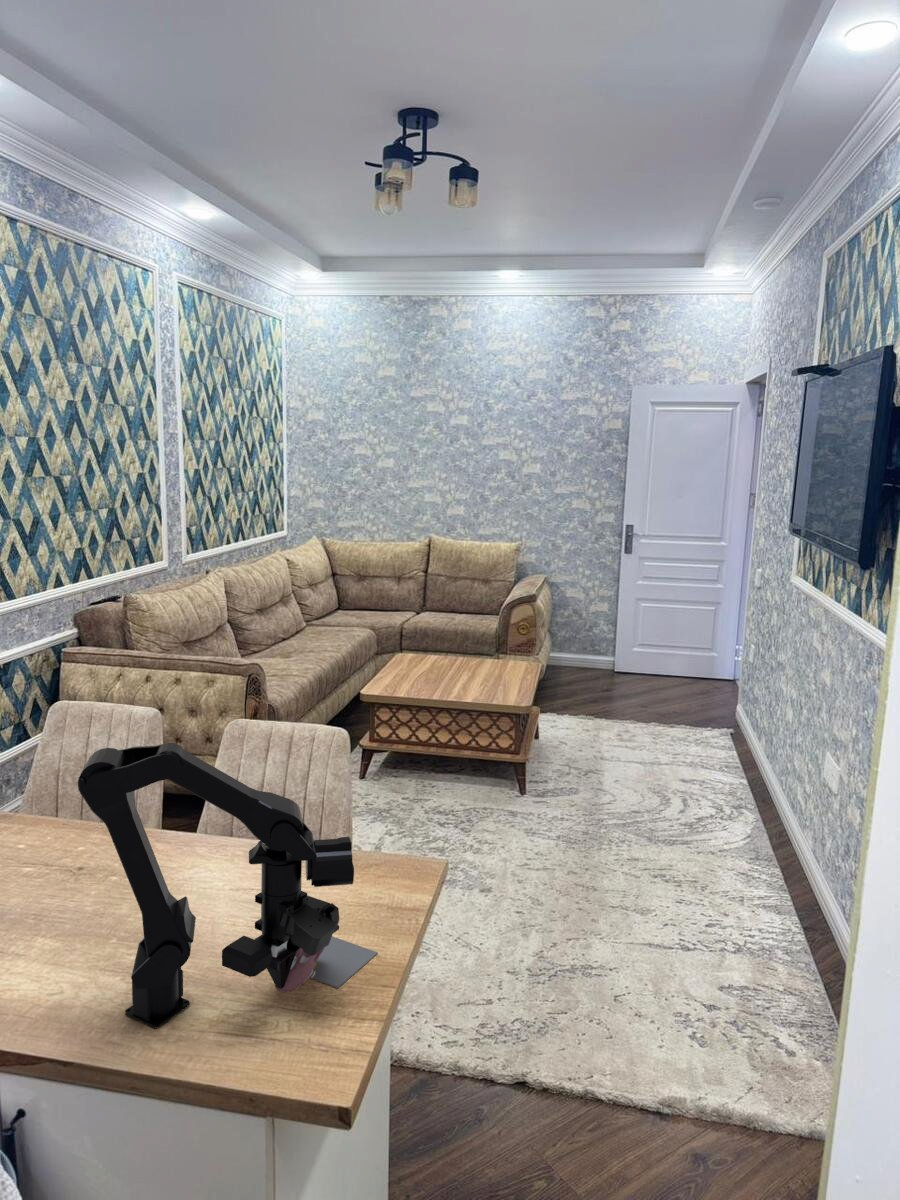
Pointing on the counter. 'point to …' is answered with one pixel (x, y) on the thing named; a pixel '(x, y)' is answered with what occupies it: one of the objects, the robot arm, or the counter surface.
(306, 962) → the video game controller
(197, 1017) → the counter surface
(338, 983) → the mat
